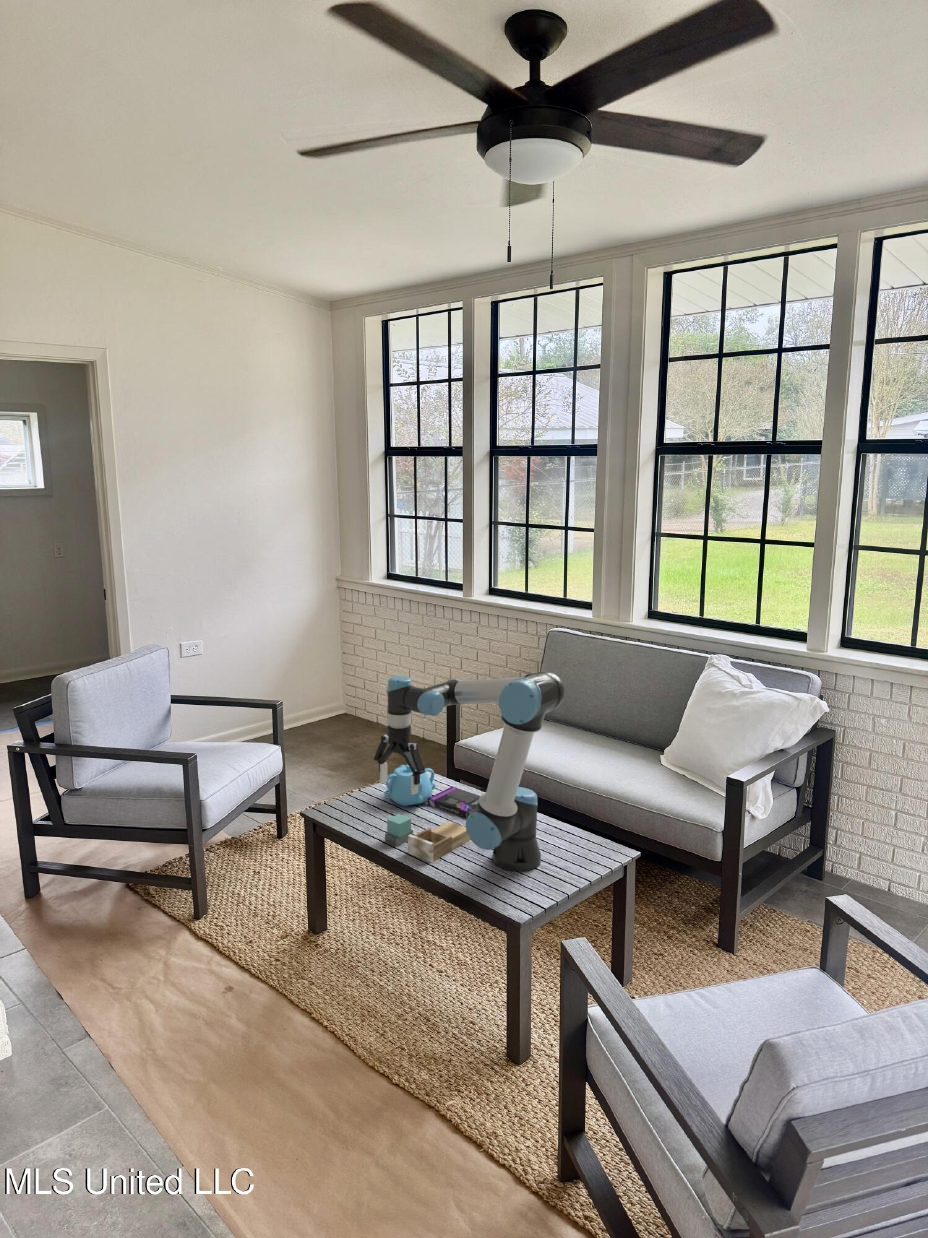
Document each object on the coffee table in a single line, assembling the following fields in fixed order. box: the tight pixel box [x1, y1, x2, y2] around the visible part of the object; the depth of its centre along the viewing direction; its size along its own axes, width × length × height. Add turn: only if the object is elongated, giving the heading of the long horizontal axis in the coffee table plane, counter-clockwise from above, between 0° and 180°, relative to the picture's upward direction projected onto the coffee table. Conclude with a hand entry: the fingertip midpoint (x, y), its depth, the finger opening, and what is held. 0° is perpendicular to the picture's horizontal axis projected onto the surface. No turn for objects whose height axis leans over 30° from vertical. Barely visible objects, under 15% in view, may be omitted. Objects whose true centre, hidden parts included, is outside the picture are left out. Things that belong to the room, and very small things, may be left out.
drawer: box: [407, 820, 471, 863], centre depth 260 cm, size 10×20×6 cm, turn 142°
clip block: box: [386, 813, 412, 837], centre depth 263 cm, size 6×6×4 cm
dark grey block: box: [384, 828, 414, 848], centre depth 264 cm, size 5×8×3 cm, turn 142°
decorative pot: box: [383, 764, 436, 807], centre depth 296 cm, size 16×16×14 cm
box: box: [427, 786, 481, 819], centre depth 292 cm, size 14×4×20 cm
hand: (398, 788), depth 261 cm, fingers open, 13 cm apart
